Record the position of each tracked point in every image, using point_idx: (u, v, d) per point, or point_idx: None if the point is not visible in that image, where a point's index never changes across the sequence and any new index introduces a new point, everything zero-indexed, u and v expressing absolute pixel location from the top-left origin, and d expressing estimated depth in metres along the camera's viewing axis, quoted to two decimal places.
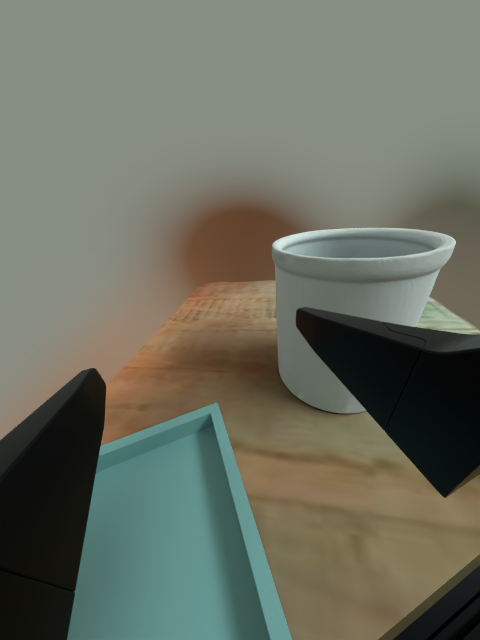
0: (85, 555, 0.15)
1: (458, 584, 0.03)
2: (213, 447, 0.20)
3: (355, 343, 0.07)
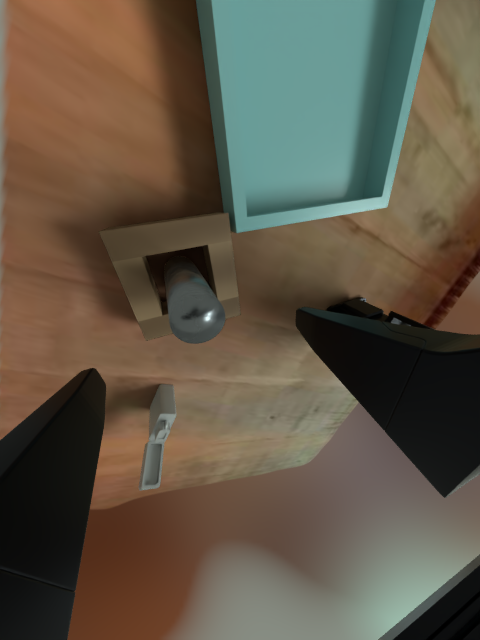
0: (259, 39, 0.13)
1: (458, 584, 0.03)
2: None
3: (355, 343, 0.07)
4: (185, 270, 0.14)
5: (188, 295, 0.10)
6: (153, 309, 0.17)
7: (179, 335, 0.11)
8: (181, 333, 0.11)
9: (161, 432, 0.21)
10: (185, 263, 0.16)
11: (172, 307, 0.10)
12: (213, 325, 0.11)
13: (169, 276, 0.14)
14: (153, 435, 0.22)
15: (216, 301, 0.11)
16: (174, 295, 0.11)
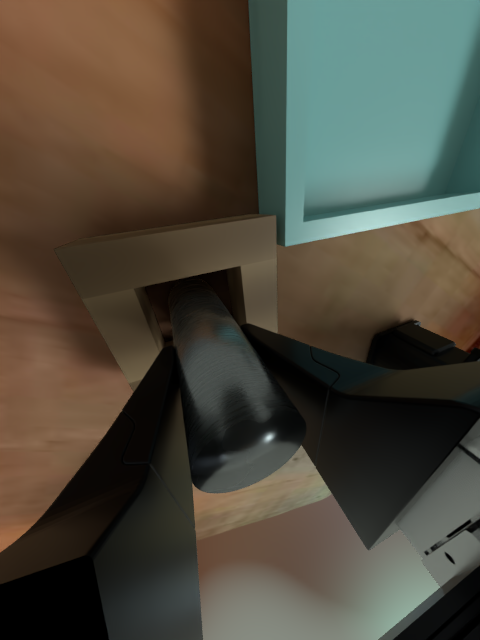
0: None
1: (458, 584, 0.03)
2: None
3: (281, 370, 0.06)
4: (209, 315, 0.08)
5: (238, 420, 0.04)
6: None
7: (210, 488, 0.05)
8: (216, 483, 0.05)
9: None
10: (204, 295, 0.10)
11: (199, 444, 0.04)
12: (280, 454, 0.05)
13: (180, 323, 0.08)
14: None
15: (295, 416, 0.05)
16: (198, 396, 0.05)
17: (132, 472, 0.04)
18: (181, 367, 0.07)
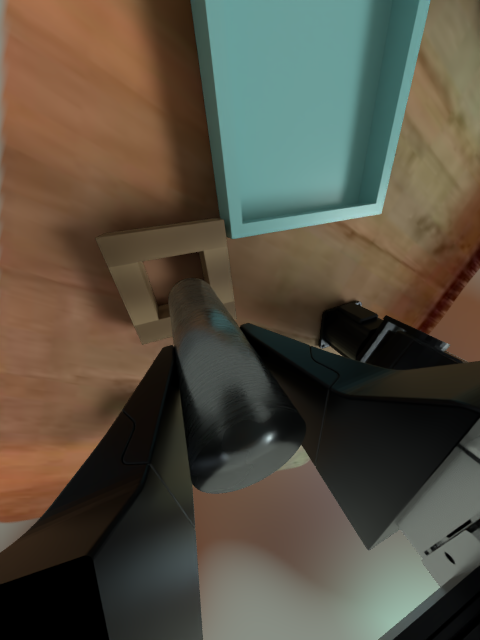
0: (255, 50, 0.14)
1: (458, 584, 0.03)
2: None
3: (281, 370, 0.06)
4: (208, 315, 0.08)
5: (238, 420, 0.04)
6: (149, 314, 0.17)
7: (210, 488, 0.05)
8: (216, 484, 0.05)
9: None
10: (204, 295, 0.10)
11: (198, 445, 0.04)
12: (280, 454, 0.05)
13: (180, 324, 0.08)
14: None
15: (295, 417, 0.05)
16: (198, 396, 0.05)
17: (133, 472, 0.04)
18: (181, 367, 0.07)
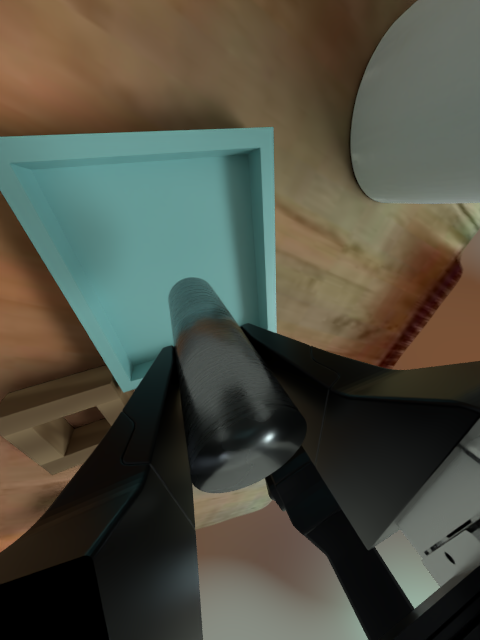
0: (121, 259, 0.16)
1: (458, 584, 0.03)
2: (243, 189, 0.16)
3: (281, 370, 0.06)
4: (208, 314, 0.08)
5: (238, 419, 0.04)
6: (53, 455, 0.19)
7: (210, 488, 0.05)
8: (216, 483, 0.05)
9: None
10: (204, 294, 0.10)
11: (198, 444, 0.04)
12: (280, 454, 0.05)
13: (180, 323, 0.08)
14: None
15: (296, 416, 0.05)
16: (198, 396, 0.05)
17: (133, 472, 0.04)
18: (181, 366, 0.07)
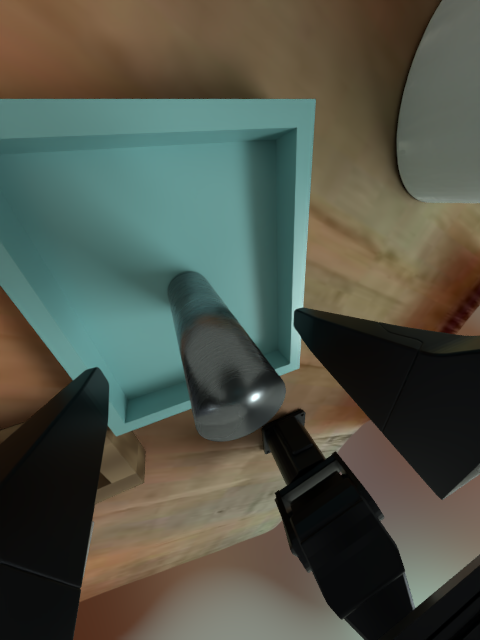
0: (111, 275, 0.12)
1: (458, 584, 0.03)
2: (267, 185, 0.13)
3: (352, 344, 0.07)
4: (206, 303, 0.09)
5: (231, 377, 0.05)
6: None
7: (210, 435, 0.06)
8: (214, 432, 0.06)
9: None
10: (201, 286, 0.11)
11: (201, 397, 0.06)
12: (265, 411, 0.07)
13: (181, 311, 0.10)
14: None
15: (276, 378, 0.06)
16: (200, 365, 0.06)
17: None
18: (183, 346, 0.08)
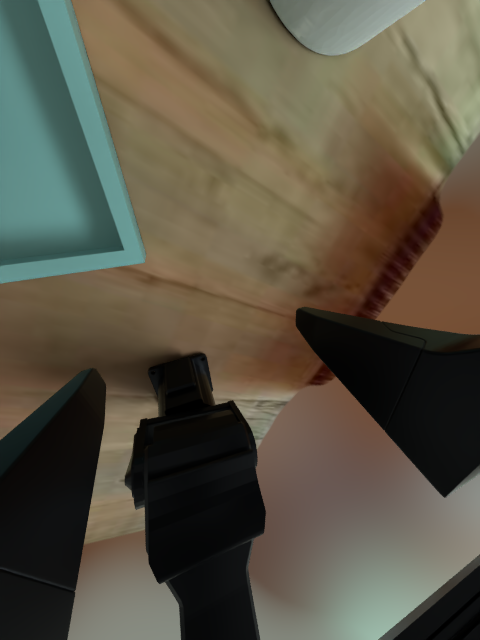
0: None
1: (458, 584, 0.03)
2: None
3: (355, 343, 0.07)
4: None
5: None
6: None
7: None
8: None
9: None
10: None
11: None
12: None
13: None
14: None
15: None
16: None
17: None
18: None
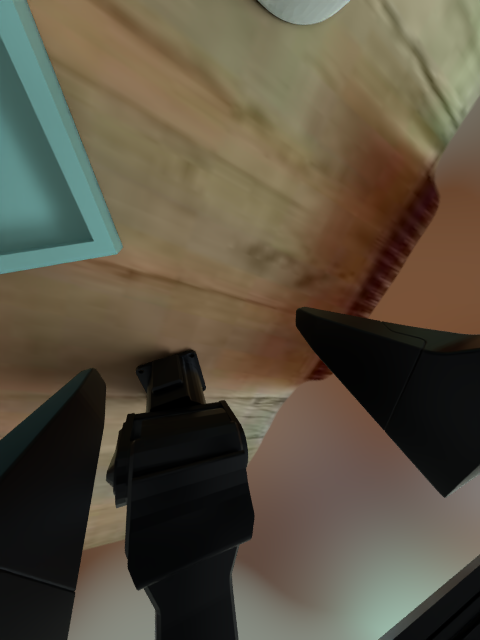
0: None
1: (458, 584, 0.03)
2: None
3: (355, 343, 0.07)
4: None
5: None
6: None
7: None
8: None
9: None
10: None
11: None
12: None
13: None
14: None
15: None
16: None
17: None
18: None
